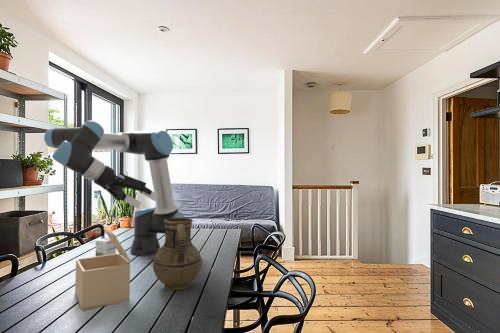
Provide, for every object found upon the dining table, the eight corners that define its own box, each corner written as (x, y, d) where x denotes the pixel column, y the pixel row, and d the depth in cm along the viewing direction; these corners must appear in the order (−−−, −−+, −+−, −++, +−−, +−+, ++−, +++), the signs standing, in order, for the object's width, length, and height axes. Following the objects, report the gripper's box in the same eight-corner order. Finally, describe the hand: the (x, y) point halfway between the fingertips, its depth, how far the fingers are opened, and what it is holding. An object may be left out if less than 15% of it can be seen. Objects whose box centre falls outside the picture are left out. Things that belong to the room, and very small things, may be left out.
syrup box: (116, 272, 131) (116, 238, 132) (105, 277, 126) (106, 241, 126) (105, 271, 133) (106, 237, 133) (94, 275, 128) (95, 239, 128)
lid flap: (103, 228, 113) (104, 227, 113) (118, 252, 116) (120, 251, 116) (112, 235, 101) (114, 234, 101) (129, 262, 104) (131, 261, 104)
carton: (75, 293, 108) (76, 259, 108) (117, 285, 116) (118, 253, 116) (82, 310, 95) (82, 271, 95) (129, 300, 103) (130, 264, 104)
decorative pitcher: (206, 294, 109) (207, 223, 110) (153, 300, 103) (155, 225, 104) (196, 274, 130) (197, 214, 130) (151, 279, 124) (153, 216, 124)
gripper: (80, 190, 118) (129, 216, 129) (109, 171, 102) (161, 203, 113) (90, 174, 123) (136, 200, 133) (119, 154, 107) (168, 186, 118)
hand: (148, 202), depth 123 cm, fingers open, 13 cm apart
